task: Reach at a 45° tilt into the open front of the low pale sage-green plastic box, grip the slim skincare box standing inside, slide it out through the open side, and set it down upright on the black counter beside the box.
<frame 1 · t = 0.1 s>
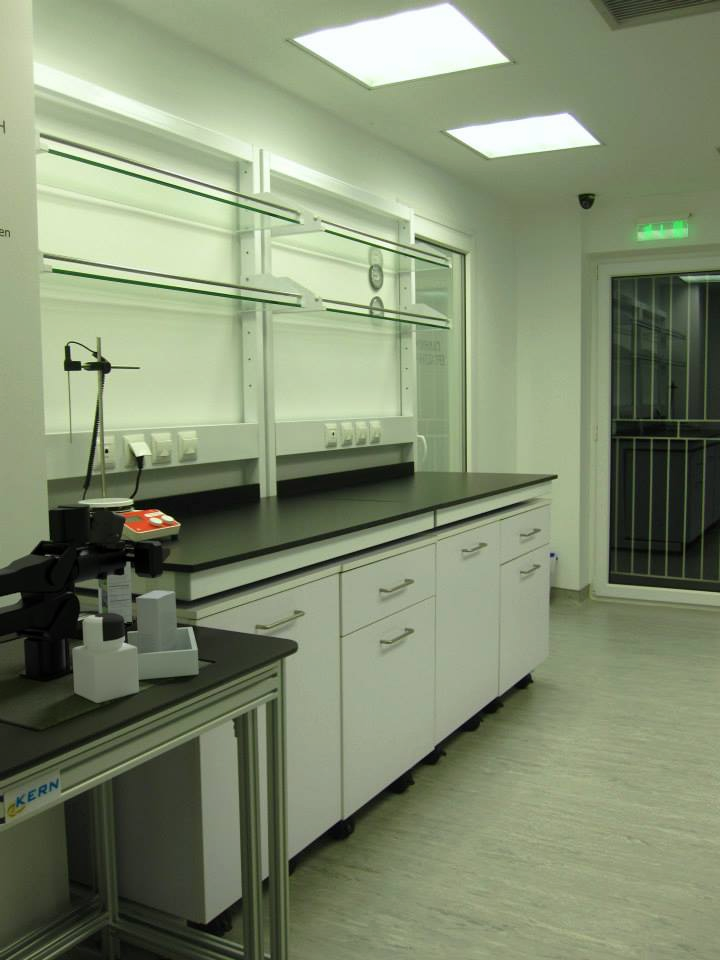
hand: (150, 549, 167), 17 cm above the lab bench, tool horizontal, fingers open, 9 cm apart
skincare box: (158, 665, 151), resting in open box
syrup box: (116, 624, 179), on the lab bench
medicine bottle: (106, 694, 136), on the lab bench
open box: (162, 663, 151), on the lab bench
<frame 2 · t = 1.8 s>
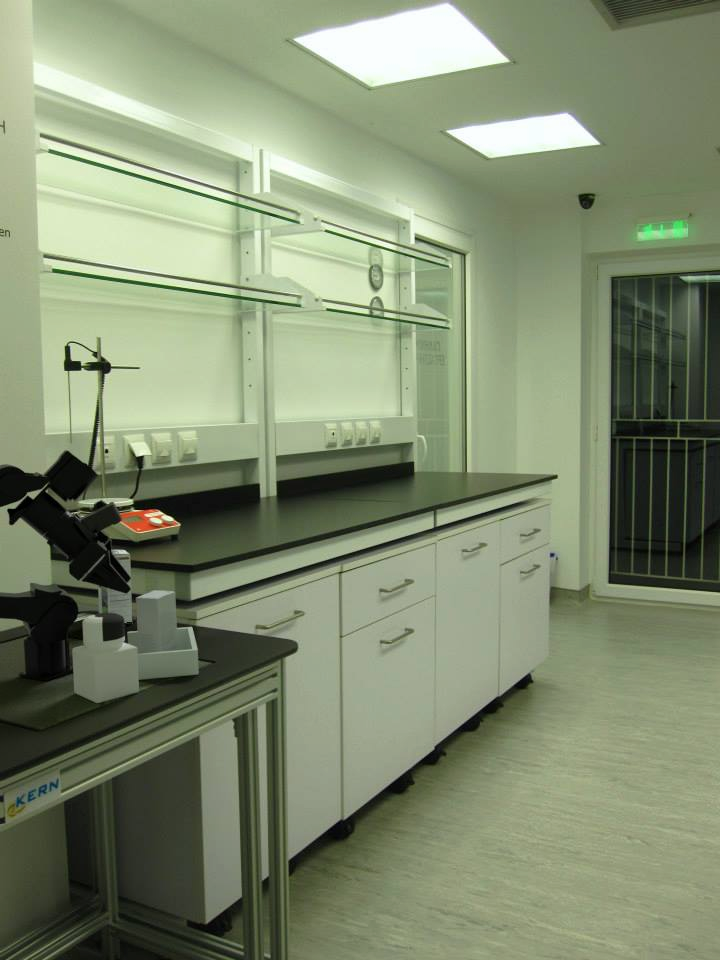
hand: (129, 585, 149), 14 cm above the lab bench, tool tilted 45°, fingers open, 9 cm apart
nothing on the lab bench moved.
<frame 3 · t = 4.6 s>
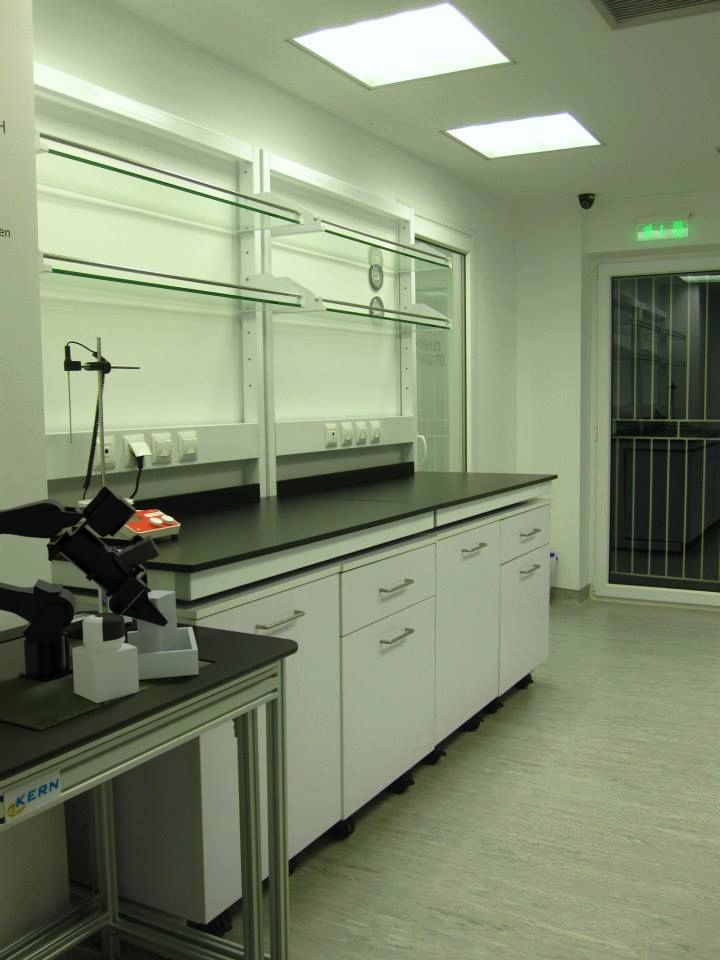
hand: (165, 619, 150), 8 cm above the lab bench, tool tilted 45°, fingers closed on skincare box, 7 cm apart
skincare box: (158, 665, 151), resting in open box, touching gripper
everything else where it was.
when the fingers open (8 cm above the lab bench, at t = 11.7 s): skincare box stays where it is, on the lab bench.
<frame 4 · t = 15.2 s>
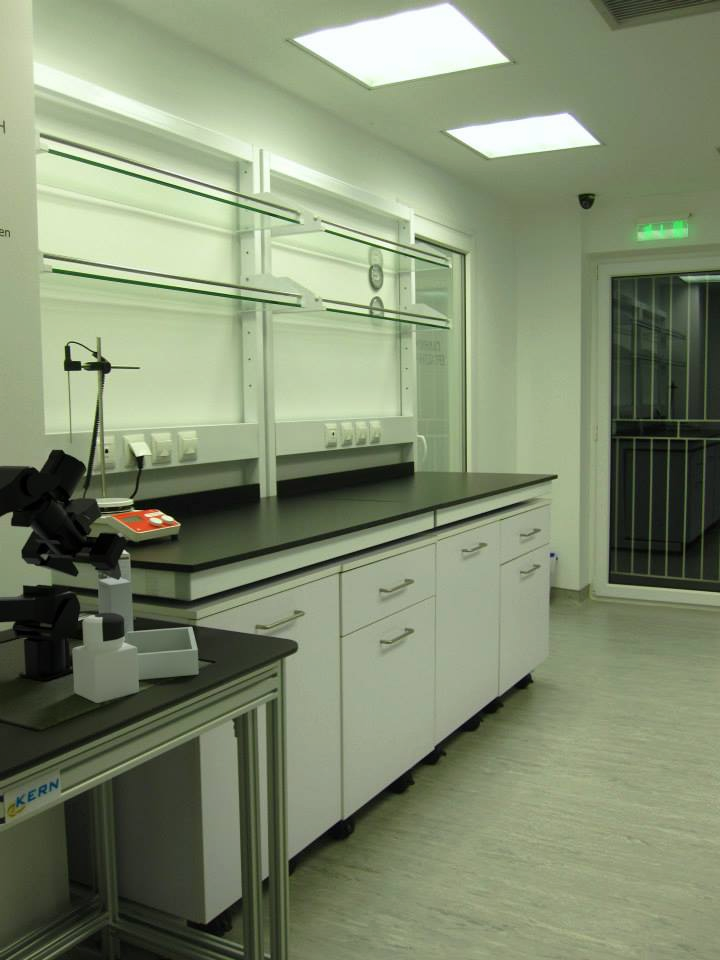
hand: (98, 576, 158), 14 cm above the lab bench, tool tilted 45°, fingers open, 9 cm apart
skincare box: (117, 646, 163), on the lab bench
everything else where it was.
at the end: skincare box inside the target area (0.2 cm from its centre), on the lab bench; skincare box tilted 0°; the gripper is holding nothing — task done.
